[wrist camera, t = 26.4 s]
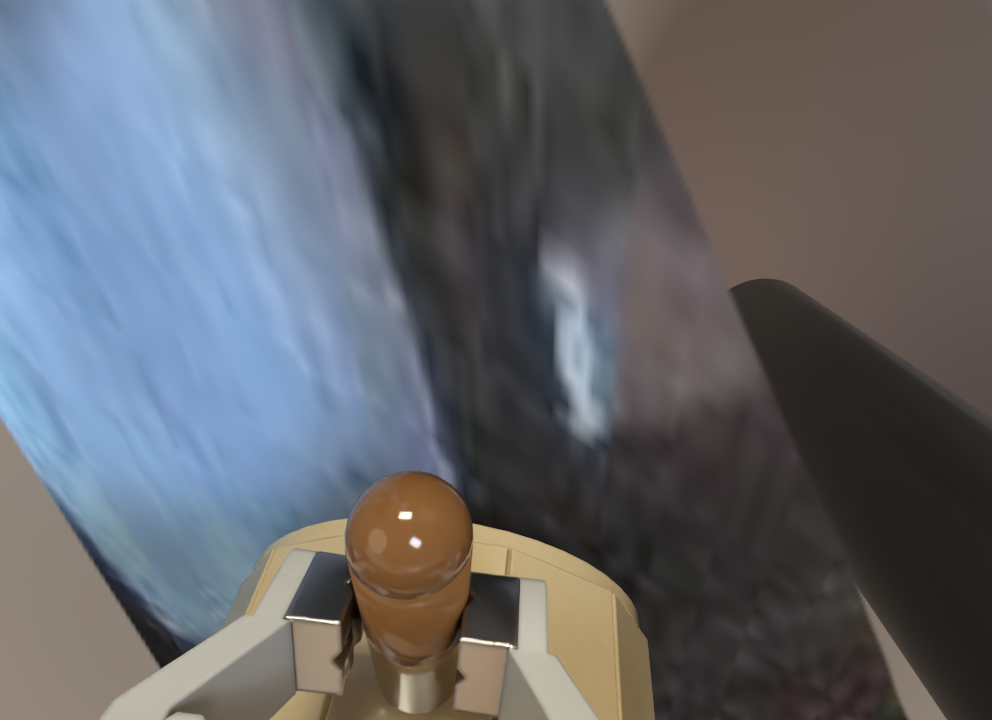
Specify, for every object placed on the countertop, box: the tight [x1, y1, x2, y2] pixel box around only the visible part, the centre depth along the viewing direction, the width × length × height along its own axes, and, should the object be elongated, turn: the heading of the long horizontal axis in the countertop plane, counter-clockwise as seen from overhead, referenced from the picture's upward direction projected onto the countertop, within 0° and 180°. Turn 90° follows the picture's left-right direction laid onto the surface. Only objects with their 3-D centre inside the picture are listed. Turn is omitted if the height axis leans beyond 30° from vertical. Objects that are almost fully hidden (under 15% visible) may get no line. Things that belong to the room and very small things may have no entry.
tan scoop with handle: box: [222, 471, 655, 720], centre depth 16 cm, size 14×21×6 cm, turn 174°
